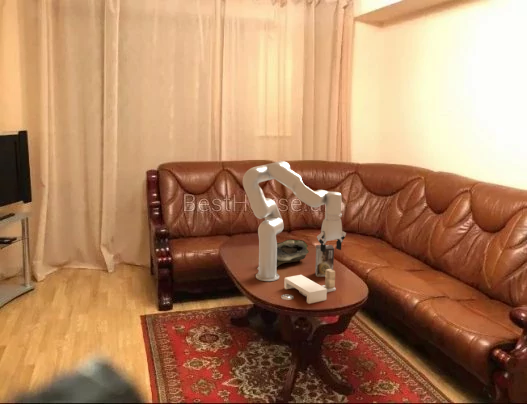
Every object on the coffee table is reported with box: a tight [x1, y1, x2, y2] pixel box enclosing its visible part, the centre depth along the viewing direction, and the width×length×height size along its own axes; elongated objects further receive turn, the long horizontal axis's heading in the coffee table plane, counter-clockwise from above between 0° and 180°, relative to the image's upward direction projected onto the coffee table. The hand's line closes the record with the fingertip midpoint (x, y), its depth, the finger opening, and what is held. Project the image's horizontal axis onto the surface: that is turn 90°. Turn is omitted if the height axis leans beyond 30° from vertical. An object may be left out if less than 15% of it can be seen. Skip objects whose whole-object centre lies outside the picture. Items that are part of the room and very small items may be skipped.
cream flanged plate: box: [283, 274, 328, 305], centre depth 235 cm, size 22×10×6 cm, turn 30°
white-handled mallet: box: [298, 269, 337, 298], centre depth 238 cm, size 6×18×10 cm, turn 120°
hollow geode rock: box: [277, 238, 310, 267], centre depth 282 cm, size 28×13×15 cm
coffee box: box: [314, 244, 335, 278], centre depth 261 cm, size 9×6×16 cm
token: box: [280, 293, 294, 301], centre depth 231 cm, size 6×6×1 cm
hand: (330, 250), depth 239 cm, fingers open, 9 cm apart
